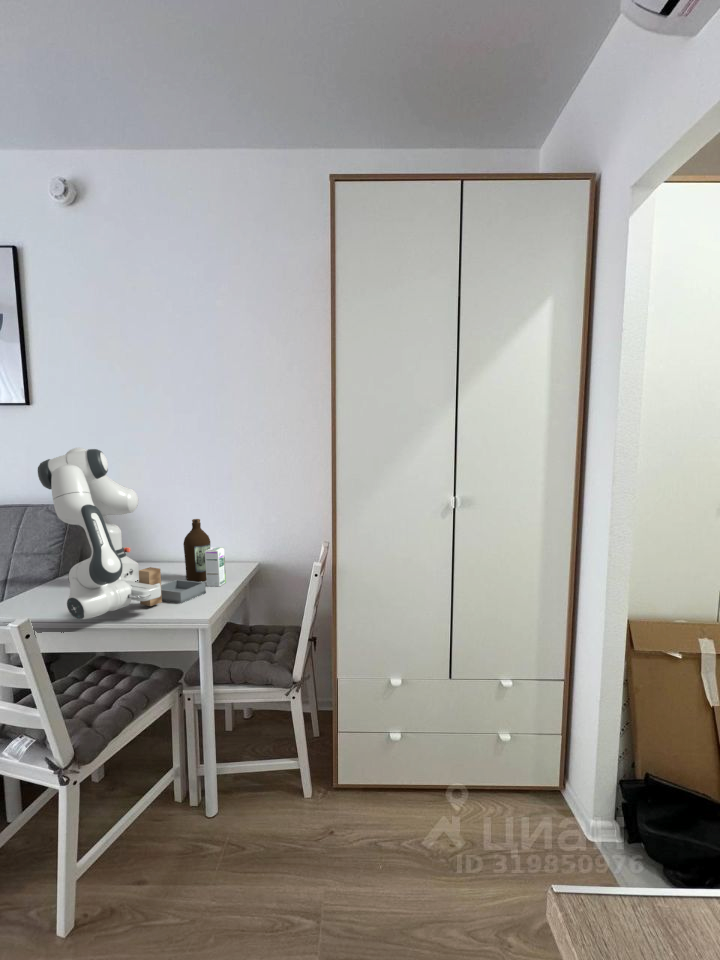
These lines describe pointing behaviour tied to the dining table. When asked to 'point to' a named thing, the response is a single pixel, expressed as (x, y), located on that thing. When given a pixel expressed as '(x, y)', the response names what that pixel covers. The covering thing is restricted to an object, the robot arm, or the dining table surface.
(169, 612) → the dining table surface
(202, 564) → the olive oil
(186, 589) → the bin
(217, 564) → the syrup box
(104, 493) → the robot arm
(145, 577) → the wooden block
